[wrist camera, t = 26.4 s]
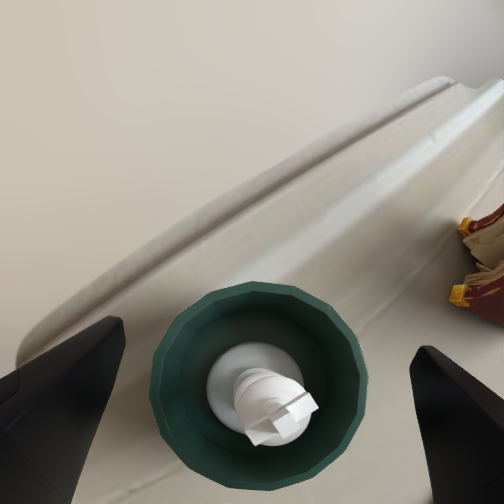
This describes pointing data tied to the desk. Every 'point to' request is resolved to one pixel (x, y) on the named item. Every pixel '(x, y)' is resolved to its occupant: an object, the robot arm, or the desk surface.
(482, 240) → the book monster
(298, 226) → the desk surface
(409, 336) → the desk surface
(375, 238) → the desk surface
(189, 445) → the pot
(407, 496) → the desk surface
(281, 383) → the chess piece
